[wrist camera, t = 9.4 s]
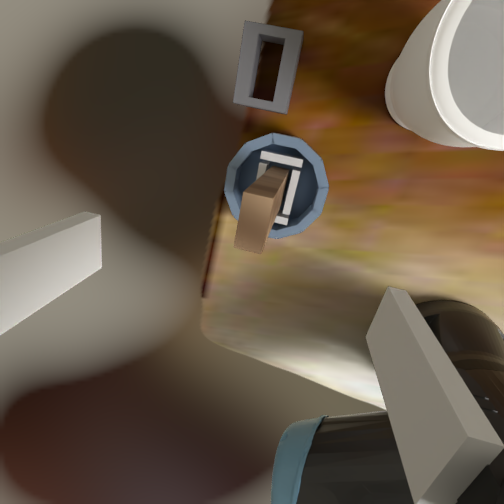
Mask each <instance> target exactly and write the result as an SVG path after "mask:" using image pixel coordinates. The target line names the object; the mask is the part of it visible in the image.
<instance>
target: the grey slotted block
mask: <svg viewBox="0 0 504 504" xmlns="http://www.w3.org/2000/svg"><path fill="white" fill-rule="evenodd" d="M262 41H265V42H271V43H276V44H281V45H284V48H283V53H282V58H281V64H280V69H279V74H278V79H277V84H276V89H275V94H274V99H273V102H271V101H266V100H261V99H256V98H253V92H254V86H255V80H256V74H257V68H258V63H259V57H260V51H261V45H262ZM302 43H303V31H300V30H295V29H289V28H284V27H278V26H273V25H267V24H262V23H256V22H250V21H245V23H244V29H243V37H242V43H241V50H240V57H239V64H238V71H237V78H236V85H235V92H234V99H233V103H235V104H238V105H243V106H247V107H252V108H257V109H262V110H267V111H272V112H277V113H281V114H286V115H287V112H288V108H289V103H290V98H291V94H292V89H293V84H294V80H295V75H296V71H297V66H298V61H299V57H300V52H301V48H302Z"/></svg>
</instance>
